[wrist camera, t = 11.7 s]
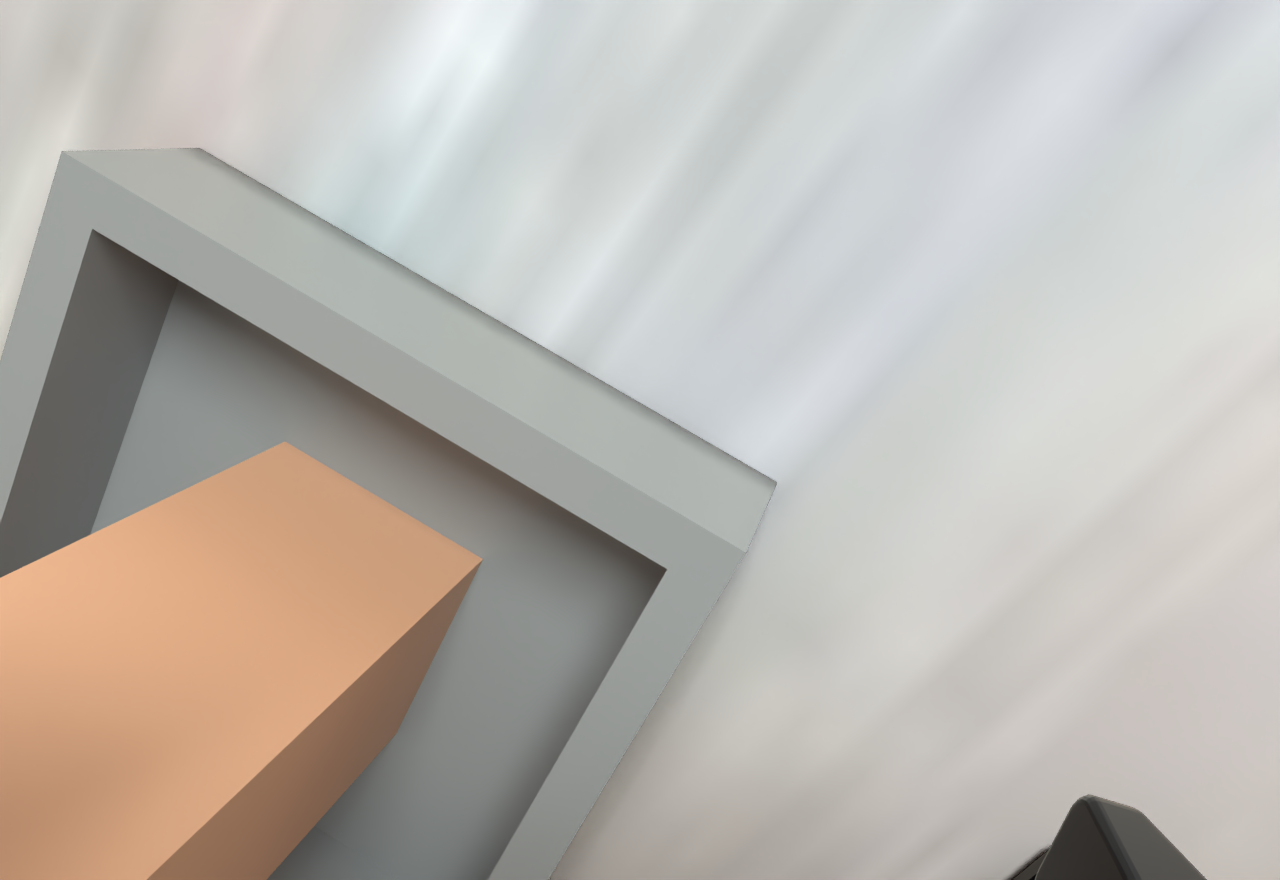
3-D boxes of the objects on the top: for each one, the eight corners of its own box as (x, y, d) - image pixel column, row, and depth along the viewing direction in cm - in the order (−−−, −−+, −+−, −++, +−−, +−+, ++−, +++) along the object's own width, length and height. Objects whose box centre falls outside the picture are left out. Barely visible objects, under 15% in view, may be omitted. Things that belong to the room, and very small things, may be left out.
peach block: (483, 559, 24) (75, 946, 12) (396, 733, 25) (-31, 1212, 14) (284, 440, 24) (-281, 712, 13) (212, 621, 26) (-342, 998, 15)
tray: (777, 482, 22) (745, 552, 19) (496, 949, 27) (427, 1080, 24) (199, 147, 24) (62, 151, 20) (28, 652, 28) (-109, 731, 25)
